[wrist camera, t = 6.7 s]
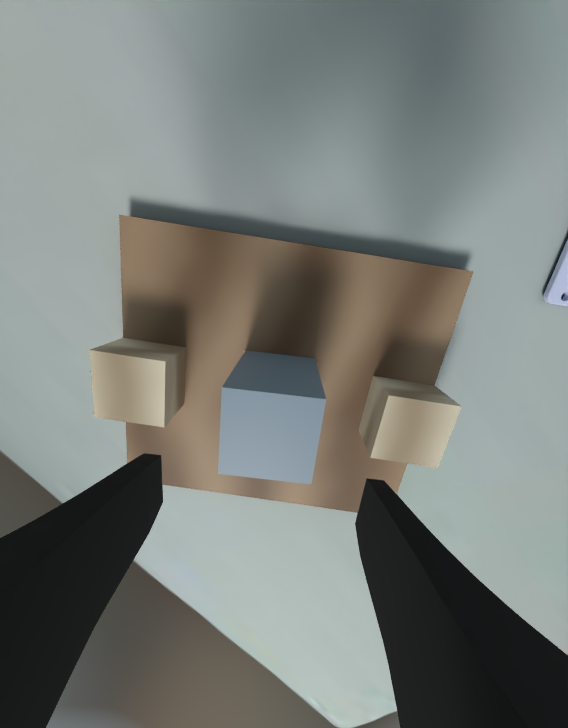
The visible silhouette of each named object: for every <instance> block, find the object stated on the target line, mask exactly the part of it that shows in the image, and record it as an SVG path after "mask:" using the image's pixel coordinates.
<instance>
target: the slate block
mask: <svg viewBox="0 0 568 728" xmlns="http://www.w3.org/2000/svg"><path fill="white" fill-rule="evenodd" d="M325 404H326V396H325V393H324V389H323V386H322V382H321V378H320V375H319V371H318V367H317V364H316V360H315V358H307V357H298V356H290V355H281V354H273V353H264V352H255V351H247V350H245V352H244V353H243V355H242V356H241V358H240V360H239V361H238V363H237V364H236V366H235V367H234V369H233V371H232V372H231V374H230V375H229V377H228V378H227V380H226V382H225V383H224V385H223V386H222V394H221V416H220V439H219V461H218V474H224V475H233V476H241V477H250V478H259V479H268V480H277V481H285V482H294V483H303V484H312V478H313V472H314V467H315V461H316V455H317V450H318V444H319V438H320V432H321V427H322V421H323V415H324V409H325Z"/></svg>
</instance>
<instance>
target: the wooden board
mask: <svg viewBox="0 0 568 728" xmlns="http://www.w3.org/2000/svg"><path fill="white" fill-rule="evenodd" d="M119 219H120V250H121V282H122V313H123V338H121V339H119V340H116V341H113V342H110V343H108V344H105V345H102V346H99V347H97V348H94V349H91V350H90V363H91V377H92V391H93V404H94V417H97V418H104V419H111V420H117V421H124V422H126V438H127V463H129V462H130V461H132V460H134V459H135V458H137V457H138V456H140V455H142V454H143V453H147V454H156V455H161V460H162V484H163V485H170V486H177V487H184V488H191V489H197V490H204V491H211V492H218V493H225V494H232V495H239V496H246V497H253V498H260V499H267V500H274V501H281V502H288V503H295V504H302V505H309V506H315V507H322V508H329V509H336V510H343V511H350V512H357V513H358V510H359V506H360V502H361V498H362V494H363V490H364V486H365V482H366V478H368V479H377V480H384V481H385V482H386V483H387V484H388V485H389V486H390V487H391V489H392V490H393V491H394V492H395V493H396V494H397V491H398V488H399V486H400V483H401V480H402V477H403V474H404V471H405V468H406V465H407V463H409V464H415V465H422V466H429V467H436V468H438V466H439V463H440V461H441V458H442V456H443V453H444V451H445V448H446V445H447V443H448V440H449V438H450V435H451V433H452V430H453V428H454V425H455V422H456V420H457V417H458V415H459V412H460V410H461V407H462V406H460V405H459V404H458V403H456V402H455V401H454V400H453V399H451V398H450V397H449V396H447V395H446V394H445V393H443V392H442V391H441V390H440V389H438V388H437V387H436V386H434V384H435V382H436V379H437V376H438V373H439V370H440V367H441V364H442V361H443V358H444V355H445V353H446V350H447V347H448V344H449V341H450V338H451V335H452V332H453V329H454V327H455V324H456V321H457V318H458V315H459V312H460V309H461V306H462V303H463V301H464V298H465V295H466V292H467V289H468V286H469V283H470V280H471V277H472V275H473V271H467V270H460V269H454V268H448V267H442V266H436V265H429V264H423V263H417V262H411V261H404V260H398V259H392V258H386V257H380V256H373V255H367V254H361V253H355V252H348V251H342V250H336V249H330V248H323V247H317V246H311V245H305V244H299V243H292V242H286V241H280V240H274V239H267V238H261V237H255V236H249V235H242V234H236V233H230V232H224V231H218V230H211V229H205V228H199V227H193V226H186V225H180V224H174V223H168V222H161V221H155V220H149V219H143V218H137V217H130V216H124V215H119ZM245 350H247V351H255V352H264V353H273V354H281V355H290V356H298V357H307V358H315V360H316V364H317V367H318V371H319V375H320V378H321V382H322V386H323V389H324V393H325V396H326V404H325V409H324V415H323V421H322V427H321V432H320V438H319V444H318V450H317V455H316V461H315V467H314V472H313V478H312V484H303V483H294V482H285V481H277V480H268V479H259V478H250V477H241V476H233V475H224V474H218V461H219V439H220V416H221V394H222V386H223V385H224V383H225V382H226V380H227V378H228V377H229V375H230V374H231V372H232V371H233V369H234V367H235V366H236V364H237V363H238V361H239V360H240V358H241V356H242V355H243V353H244V352H245Z"/></svg>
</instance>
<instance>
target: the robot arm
mask: <svg viewBox="0 0 568 728" xmlns="http://www.w3.org/2000/svg"><path fill="white" fill-rule="evenodd" d="M563 293H564V297H563V299H561V296H562V295H563ZM543 298H544V301H545V302H547V303H550V304H556V305H562V306H568V240H567V242H566V244H565V247H564V249H563V251H562V253H561V256H560V258H559V260H558V263H557V265H556V267H555V270H554V272H553V274H552V277H551V279H550V281H549V284H548V286H547V288H546V291H545V293H544V296H543ZM162 503H163V490H162V460H161V455H156V454H147V453H143V454H142V455H140V456H138V457H137V458H135V459H134V460H132V461H130V462H129V463H127V464H126V465H124V466H123V467H121V468H120V469H118V470H116V471H115V472H113V473H112V474H110V475H109V476H107V477H106V478H104V479H102V480H101V481H99V482H98V483H96V484H95V485H93V486H91V487H90V488H88V489H87V490H85V491H83V492H82V493H80V494H79V495H77V496H75V497H73V498H72V499H70V500H68V501H67V502H65V503H63V504H62V505H60V506H58V507H57V508H55V509H53V510H51V511H50V512H48V513H46V514H44V515H43V516H41V517H39V518H37V519H36V520H34V521H32V522H30V523H28V524H26V525H25V526H23V527H21V528H19V529H17V530H15V531H13V532H11V533H10V534H7V535H6V536H4V537H2V538H0V728H46V726H47V724H48V722H49V720H50V717H51V716H52V714H53V711H54V709H55V707H56V705H57V703H58V701H59V699H60V697H61V695H62V692H63V690H64V688H65V686H66V684H67V682H68V680H69V678H70V676H71V674H72V671H73V670H74V667H75V665H76V663H77V661H78V659H79V657H80V655H81V653H82V651H83V649H84V647H85V645H86V643H87V641H88V639H89V637H90V635H91V633H92V631H93V629H94V627H95V625H96V624H97V622H98V620H99V618H100V616H101V614H102V612H103V611H104V609H105V607H106V606H107V604H108V602H109V600H110V599H111V597H112V595H113V594H114V592H115V590H116V589H117V587H118V585H119V583H120V582H121V580H122V578H123V577H124V575H125V573H126V572H127V569H128V568H129V566H130V565H131V563H132V561H133V560H134V558H135V556H136V555H137V553H138V551H139V549H140V548H141V546H142V544H143V542H144V541H145V539H146V537H147V535H148V534H149V532H150V530H151V528H152V525H153V523H154V521H155V519H156V517H157V514H158V512H159V510H160V507H161V505H162ZM355 525H356V532H357V539H358V545H359V551H360V557H361V560H362V564H363V568H364V572H365V576H366V580H367V583H368V587H369V591H370V594H371V598H372V602H373V606H374V609H375V613H376V617H377V620H378V624H379V628H380V631H381V635H382V639H383V643H384V647H385V651H386V656H387V660H388V664H389V669H390V675H391V680H392V685H393V690H394V695H395V701H396V706H397V711H398V717H399V722H400V727H401V728H568V655H566V654H565V653H564V652H563V651H561V650H560V649H559V648H558V647H557V646H555V645H554V644H553V643H552V642H550V641H549V640H548V639H547V638H545V637H544V636H543V635H542V634H541V633H539V632H538V631H537V630H536V629H534V628H533V627H532V626H531V625H529V624H528V623H527V622H526V621H525V620H524V619H522V618H521V617H520V616H519V615H518V614H516V613H515V612H514V611H513V610H512V609H511V608H509V607H508V606H507V605H506V604H505V603H504V602H503V601H502V600H500V599H499V598H498V597H497V596H496V595H495V594H494V593H493V592H492V591H490V590H489V589H488V588H487V587H486V586H485V585H484V584H483V583H482V582H480V581H479V580H478V579H477V578H476V577H475V576H474V575H473V574H472V573H471V572H470V571H469V570H468V569H467V568H466V567H465V566H464V565H463V564H462V563H461V562H460V561H459V560H458V559H457V558H456V557H455V556H454V555H453V554H452V553H450V552H449V551H448V550H447V549H446V548H445V546H444V545H443V544H442V543H441V542H440V541H439V540H438V539H437V538H436V537H435V536H434V535H433V534H432V533H431V532H430V531H429V530H428V529H427V528H426V526H425V525H424V524H423V523H422V522H421V521H420V520H419V519H418V518H417V517H416V516H415V514H414V513H413V512H412V511H411V510H410V509H409V508H408V507H407V505H406V504H405V503H404V502H403V501H402V500H401V499H400V498H399V496H398V495H397V494H396V493H395V492H394V491H393V490H392V489H391V487H390V486H389V485H388V484H387V483H386V482H385V481H384V480H377V479H368V478H366V482H365V486H364V490H363V494H362V498H361V502H360V506H359V510H358V515H357V519H356V523H355Z"/></svg>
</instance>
